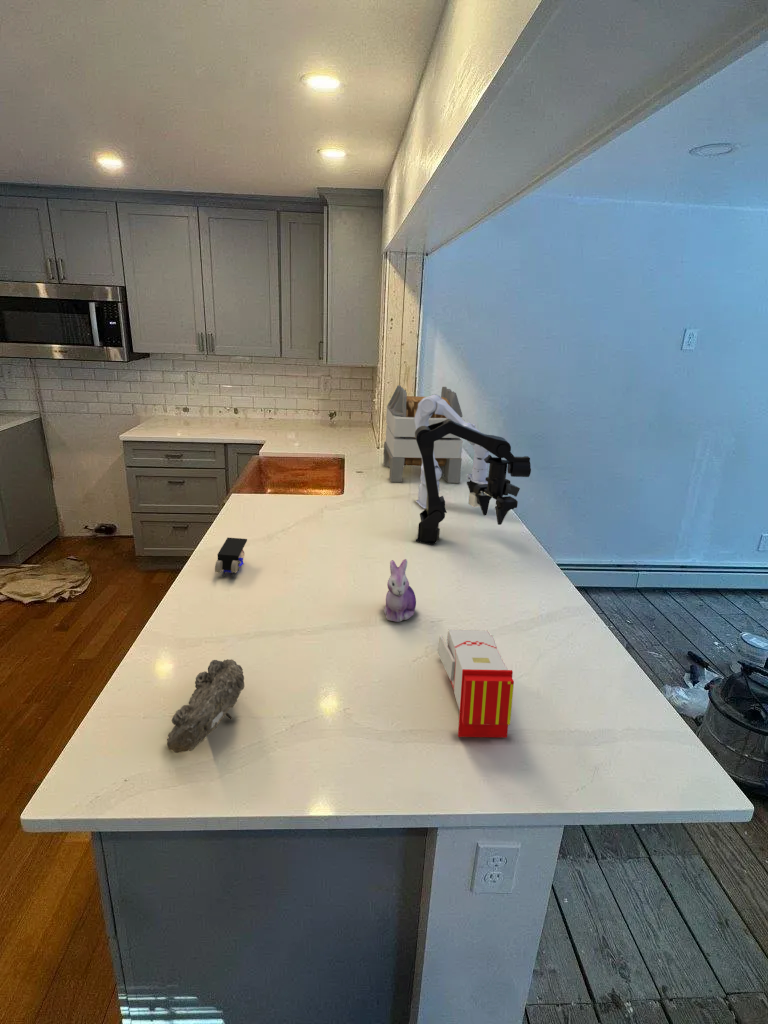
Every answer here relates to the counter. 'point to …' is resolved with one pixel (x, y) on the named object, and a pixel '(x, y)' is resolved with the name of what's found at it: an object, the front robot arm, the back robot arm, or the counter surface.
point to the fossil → (206, 705)
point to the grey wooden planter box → (403, 441)
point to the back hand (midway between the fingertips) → (476, 501)
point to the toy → (478, 682)
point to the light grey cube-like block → (473, 500)
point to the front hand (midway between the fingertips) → (492, 519)
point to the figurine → (399, 594)
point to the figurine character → (230, 556)
